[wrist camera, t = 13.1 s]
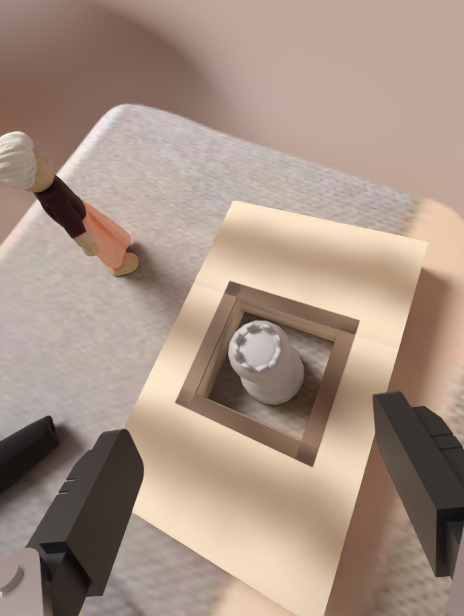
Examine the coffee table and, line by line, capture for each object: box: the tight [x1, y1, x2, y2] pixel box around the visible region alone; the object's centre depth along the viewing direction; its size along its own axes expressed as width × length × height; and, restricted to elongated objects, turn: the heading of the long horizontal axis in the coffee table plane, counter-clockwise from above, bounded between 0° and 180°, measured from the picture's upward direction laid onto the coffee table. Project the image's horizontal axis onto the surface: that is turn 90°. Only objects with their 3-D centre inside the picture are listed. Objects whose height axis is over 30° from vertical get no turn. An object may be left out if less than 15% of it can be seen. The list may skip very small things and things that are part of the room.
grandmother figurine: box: [0, 132, 139, 276], centre depth 24 cm, size 8×4×13 cm, turn 44°
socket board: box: [124, 200, 429, 616], centre depth 22 cm, size 22×14×3 cm, turn 157°
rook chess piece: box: [228, 321, 304, 405], centre depth 19 cm, size 4×4×8 cm
